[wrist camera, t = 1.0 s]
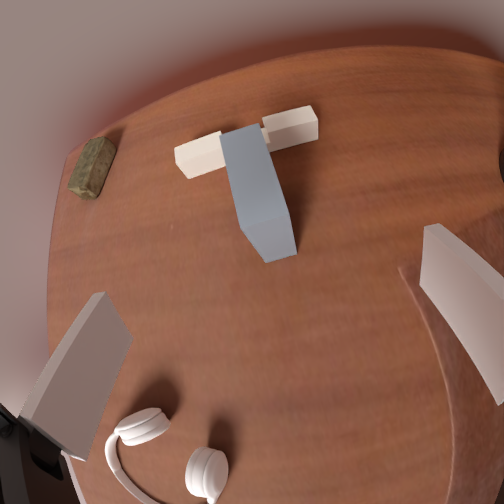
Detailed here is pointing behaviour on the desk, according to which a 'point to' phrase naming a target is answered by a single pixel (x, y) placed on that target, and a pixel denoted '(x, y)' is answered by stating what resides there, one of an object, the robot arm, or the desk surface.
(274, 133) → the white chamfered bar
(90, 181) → the stone block
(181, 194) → the desk surface
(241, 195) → the blue-grey rectangular block
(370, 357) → the desk surface
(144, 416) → the headphones
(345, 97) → the desk surface
